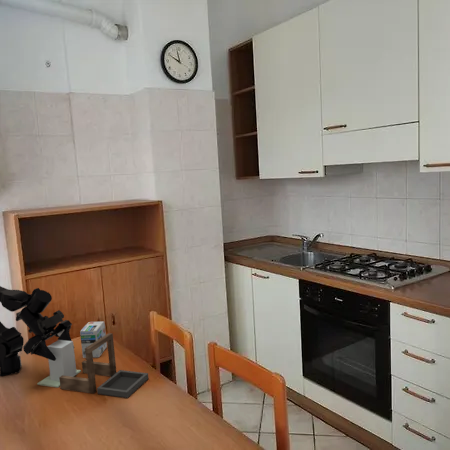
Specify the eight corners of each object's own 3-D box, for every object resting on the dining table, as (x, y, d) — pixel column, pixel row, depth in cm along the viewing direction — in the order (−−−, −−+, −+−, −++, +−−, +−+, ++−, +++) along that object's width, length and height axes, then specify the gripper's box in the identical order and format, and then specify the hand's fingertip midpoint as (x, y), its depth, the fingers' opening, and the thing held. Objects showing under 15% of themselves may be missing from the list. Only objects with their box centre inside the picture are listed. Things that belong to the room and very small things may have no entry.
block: (50, 380, 154) (46, 346, 153) (62, 372, 160) (58, 339, 158) (65, 382, 152) (61, 348, 150) (76, 374, 158) (73, 341, 156)
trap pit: (97, 394, 144) (96, 388, 143) (120, 375, 156) (120, 369, 155) (127, 398, 140) (126, 392, 139) (148, 378, 152) (148, 373, 151)
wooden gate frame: (60, 388, 149) (55, 345, 147) (85, 371, 161) (81, 330, 159) (93, 393, 144) (88, 348, 142) (116, 375, 156) (112, 333, 154)
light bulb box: (99, 357, 172) (96, 330, 170) (82, 358, 172) (79, 331, 170) (107, 346, 182) (104, 320, 181) (90, 347, 182) (88, 321, 181)
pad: (37, 384, 153) (37, 383, 152) (61, 369, 164) (61, 367, 164) (58, 387, 150) (57, 386, 150) (81, 371, 161) (81, 370, 161)
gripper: (25, 315, 145) (57, 350, 143) (64, 297, 163) (93, 329, 160) (9, 336, 149) (40, 371, 147) (49, 317, 166) (77, 348, 164)
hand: (64, 354), depth 154 cm, fingers open, 9 cm apart
